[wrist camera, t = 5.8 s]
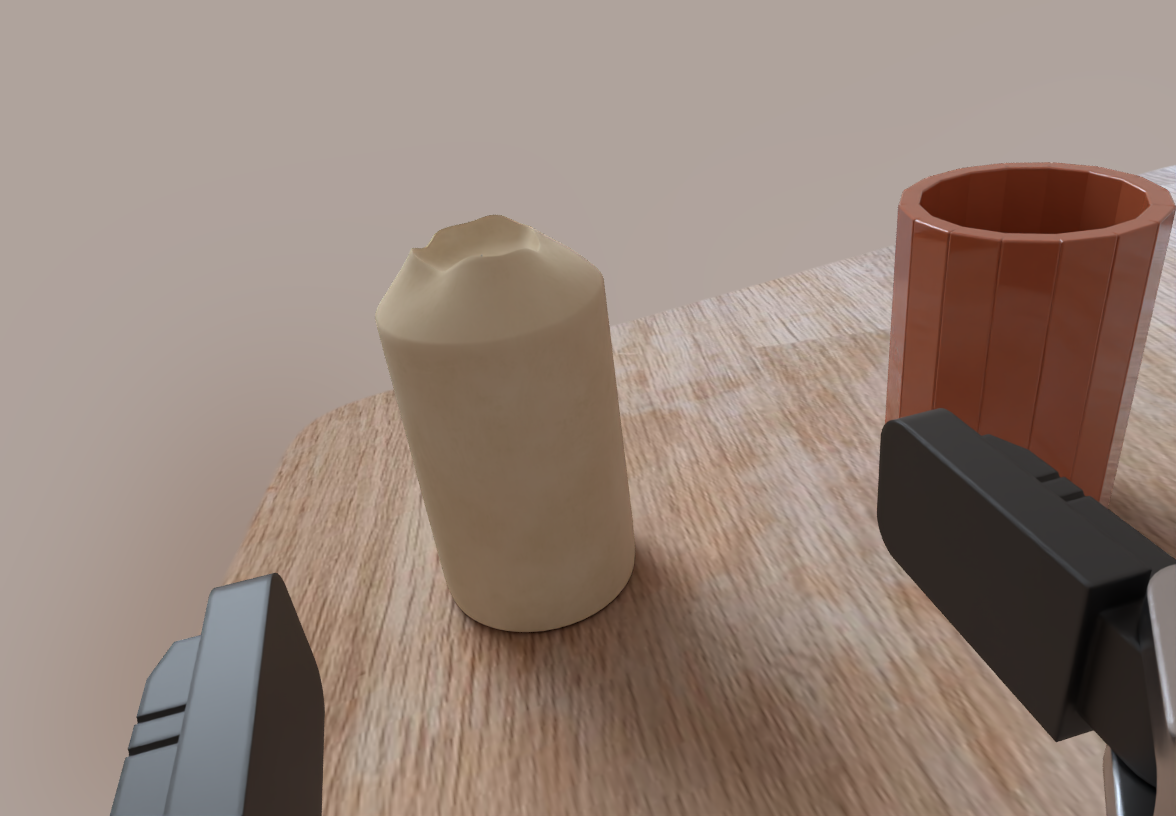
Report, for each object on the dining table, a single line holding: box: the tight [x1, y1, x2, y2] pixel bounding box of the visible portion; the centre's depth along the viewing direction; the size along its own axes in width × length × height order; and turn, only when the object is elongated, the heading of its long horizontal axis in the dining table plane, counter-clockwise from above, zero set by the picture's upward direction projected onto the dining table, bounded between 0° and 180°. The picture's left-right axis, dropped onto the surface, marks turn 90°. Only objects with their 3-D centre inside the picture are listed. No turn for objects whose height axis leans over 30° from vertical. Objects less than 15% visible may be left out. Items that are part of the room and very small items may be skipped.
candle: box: [375, 215, 635, 632], centre depth 22 cm, size 6×6×10 cm
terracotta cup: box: [885, 162, 1176, 509], centre depth 23 cm, size 6×6×9 cm
